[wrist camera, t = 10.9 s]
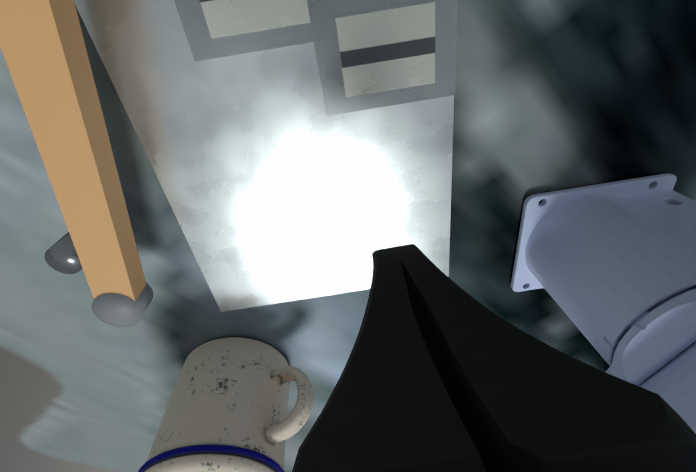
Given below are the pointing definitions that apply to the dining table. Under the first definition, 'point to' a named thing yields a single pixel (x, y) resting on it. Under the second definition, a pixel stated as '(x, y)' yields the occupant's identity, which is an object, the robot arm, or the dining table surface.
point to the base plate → (288, 133)
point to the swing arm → (75, 149)
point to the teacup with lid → (230, 410)
